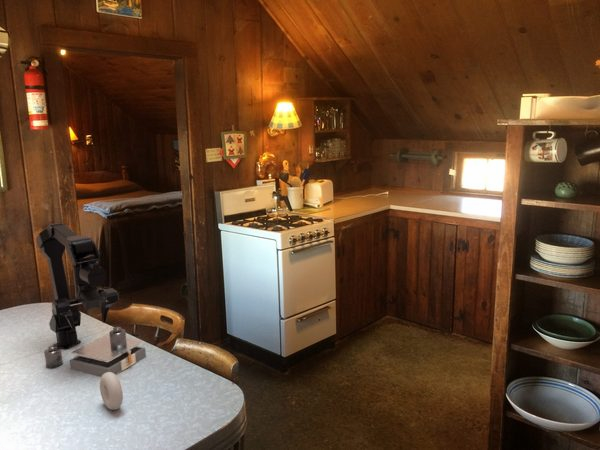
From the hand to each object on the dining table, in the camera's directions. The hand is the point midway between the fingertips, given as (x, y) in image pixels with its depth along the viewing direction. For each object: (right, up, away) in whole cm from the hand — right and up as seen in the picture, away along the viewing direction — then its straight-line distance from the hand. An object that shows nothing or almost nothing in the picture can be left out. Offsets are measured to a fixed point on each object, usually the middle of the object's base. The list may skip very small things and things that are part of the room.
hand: (88, 326), depth 163 cm
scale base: (+5, -12, +3) cm, 14 cm away
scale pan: (+6, -11, +2) cm, 12 cm away
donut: (+16, -17, -24) cm, 33 cm away
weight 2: (+9, -7, +1) cm, 11 cm away
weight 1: (-12, -13, +2) cm, 17 cm away
